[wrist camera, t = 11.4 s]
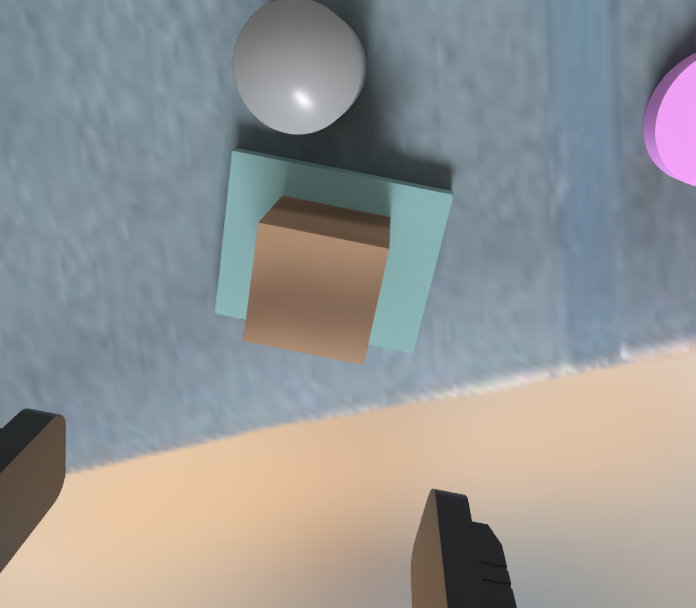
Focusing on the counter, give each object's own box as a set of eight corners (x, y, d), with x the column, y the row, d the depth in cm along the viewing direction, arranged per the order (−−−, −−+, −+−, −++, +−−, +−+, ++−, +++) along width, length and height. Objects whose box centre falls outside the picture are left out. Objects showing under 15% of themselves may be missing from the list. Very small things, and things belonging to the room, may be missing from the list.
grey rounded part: (260, 110, 26) (226, 121, 21) (272, 2, 25) (240, -15, 20) (356, 129, 26) (346, 145, 21) (375, 22, 25) (369, 11, 20)
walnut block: (282, 195, 27) (258, 222, 22) (390, 217, 27) (389, 248, 22) (268, 296, 28) (243, 340, 24) (369, 316, 28) (363, 364, 24)
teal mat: (220, 305, 30) (215, 313, 29) (237, 147, 27) (231, 150, 26) (412, 344, 30) (413, 353, 29) (451, 190, 27) (453, 195, 26)
